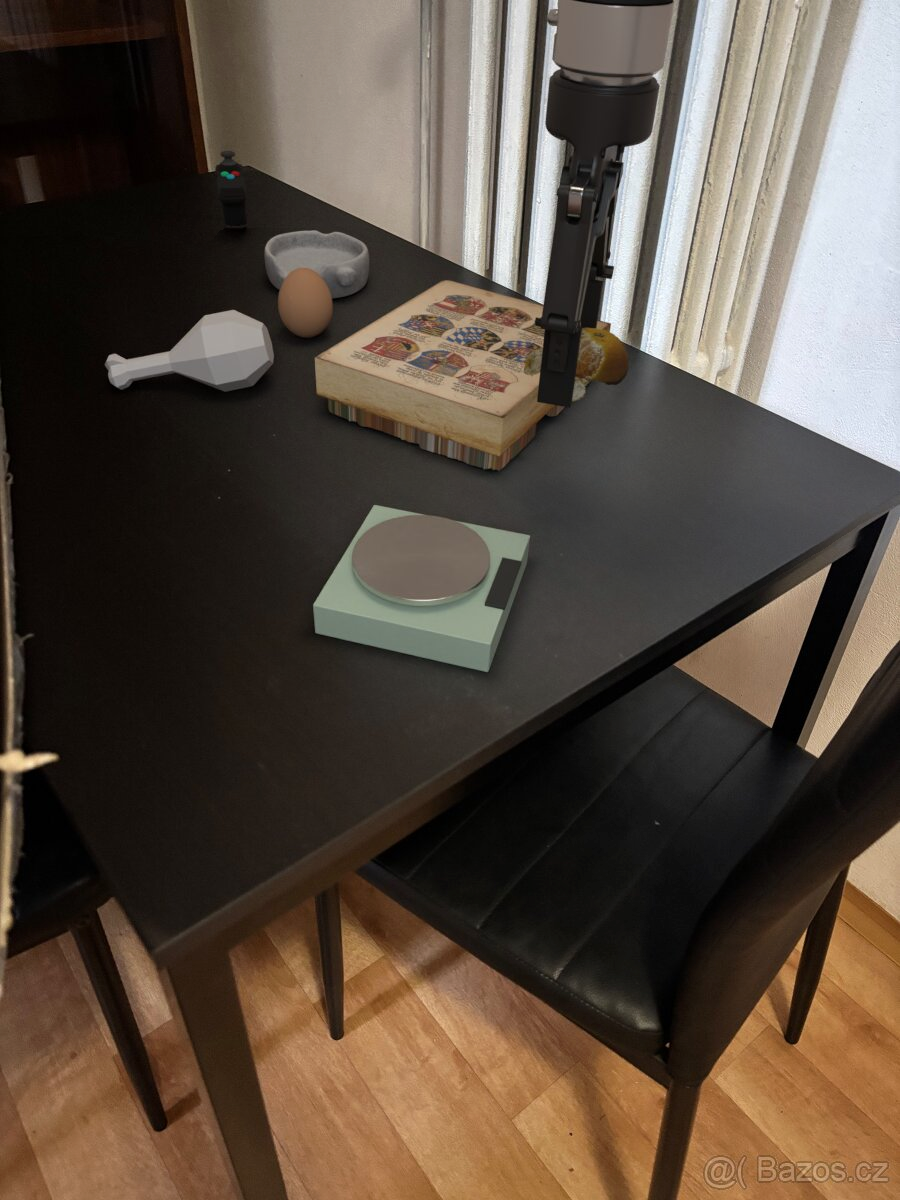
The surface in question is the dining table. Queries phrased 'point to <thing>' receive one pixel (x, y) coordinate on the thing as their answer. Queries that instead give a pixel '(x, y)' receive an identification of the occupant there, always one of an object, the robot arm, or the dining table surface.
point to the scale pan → (421, 560)
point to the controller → (231, 190)
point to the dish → (319, 259)
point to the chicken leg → (206, 355)
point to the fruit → (591, 360)
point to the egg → (305, 303)
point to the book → (444, 374)
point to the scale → (426, 631)
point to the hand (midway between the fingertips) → (566, 376)
